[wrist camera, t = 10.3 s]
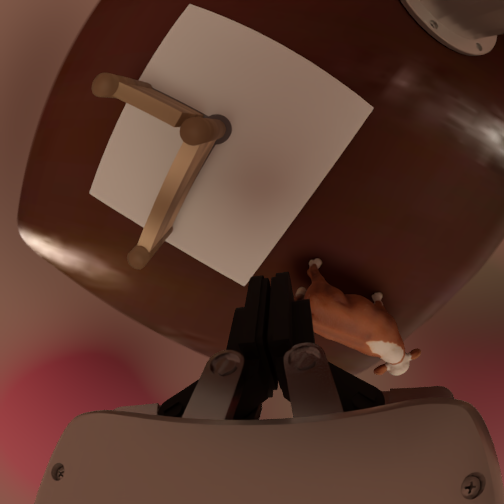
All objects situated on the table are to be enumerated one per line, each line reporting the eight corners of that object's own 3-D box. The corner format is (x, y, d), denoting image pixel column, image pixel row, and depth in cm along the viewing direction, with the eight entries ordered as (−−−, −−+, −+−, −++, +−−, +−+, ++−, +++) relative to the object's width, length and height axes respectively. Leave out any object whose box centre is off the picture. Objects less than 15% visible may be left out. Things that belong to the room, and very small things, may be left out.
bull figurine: (376, 334, 28) (398, 390, 21) (279, 277, 25) (282, 339, 18) (404, 307, 26) (434, 361, 19) (309, 240, 24) (325, 294, 16)
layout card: (190, 5, 15) (189, 3, 15) (372, 108, 18) (374, 107, 18) (91, 192, 23) (89, 193, 22) (244, 284, 26) (244, 286, 26)
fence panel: (211, 115, 19) (188, 112, 13) (229, 125, 19) (213, 125, 14) (154, 230, 23) (122, 263, 18) (170, 238, 23) (142, 275, 18)
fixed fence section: (141, 79, 18) (99, 69, 12) (206, 111, 19) (181, 107, 13) (132, 96, 19) (88, 92, 13) (195, 129, 20) (167, 132, 14)
